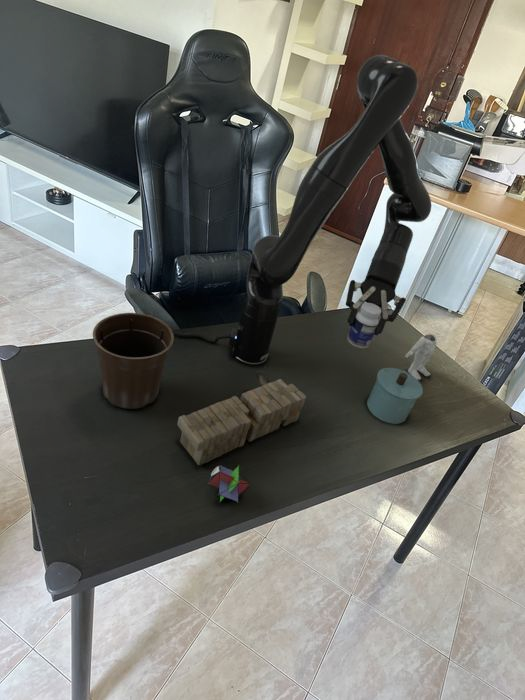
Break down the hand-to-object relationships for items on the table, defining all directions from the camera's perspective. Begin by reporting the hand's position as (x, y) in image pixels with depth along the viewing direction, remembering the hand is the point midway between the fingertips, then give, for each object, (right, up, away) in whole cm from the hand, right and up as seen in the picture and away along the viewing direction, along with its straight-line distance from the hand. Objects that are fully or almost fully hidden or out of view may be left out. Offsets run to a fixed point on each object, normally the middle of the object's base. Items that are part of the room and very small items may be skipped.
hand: (363, 329), depth 114 cm
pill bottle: (-1, -3, +4) cm, 5 cm away
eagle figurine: (-23, -17, +3) cm, 29 cm away
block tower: (-29, -23, -7) cm, 37 cm away
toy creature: (+21, -12, +27) cm, 36 cm away
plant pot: (-54, -14, -4) cm, 56 cm away
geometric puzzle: (-31, -33, -21) cm, 49 cm away
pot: (+8, -20, +11) cm, 24 cm away
